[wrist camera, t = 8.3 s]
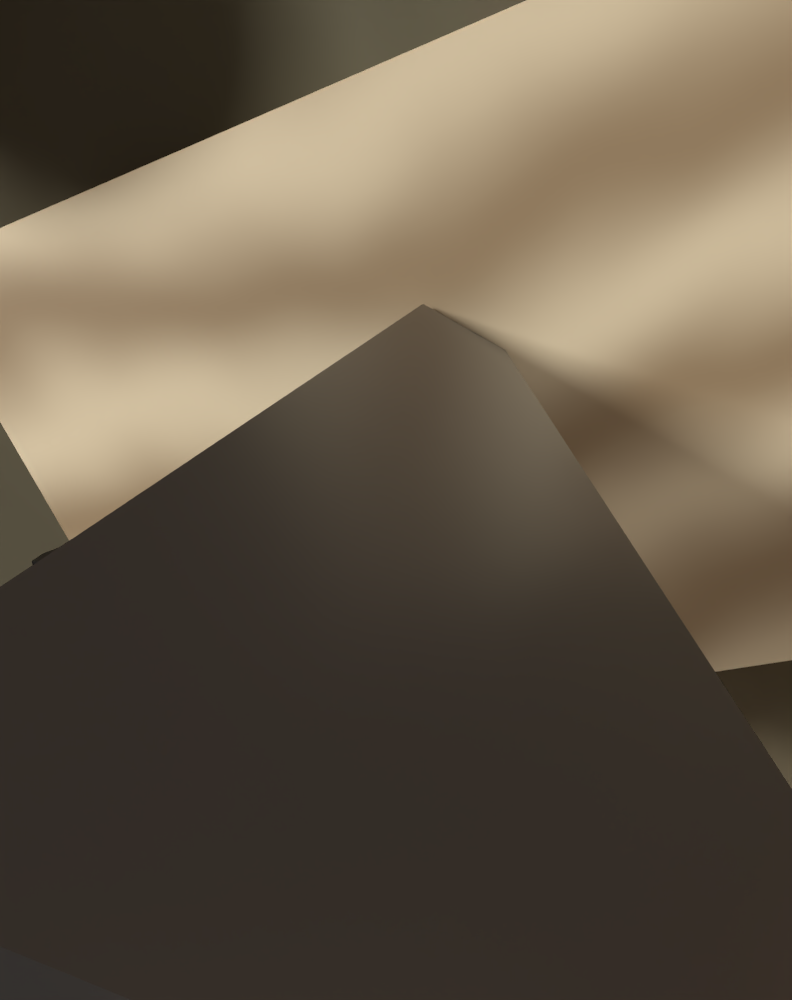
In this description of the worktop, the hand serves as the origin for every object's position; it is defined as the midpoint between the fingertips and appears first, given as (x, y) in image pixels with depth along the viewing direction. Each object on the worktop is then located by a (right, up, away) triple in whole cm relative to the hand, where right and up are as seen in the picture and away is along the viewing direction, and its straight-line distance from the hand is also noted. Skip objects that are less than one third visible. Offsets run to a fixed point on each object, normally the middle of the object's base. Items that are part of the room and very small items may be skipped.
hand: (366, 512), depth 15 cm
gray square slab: (0, 0, +2) cm, 2 cm away
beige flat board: (+1, +2, +3) cm, 4 cm away
